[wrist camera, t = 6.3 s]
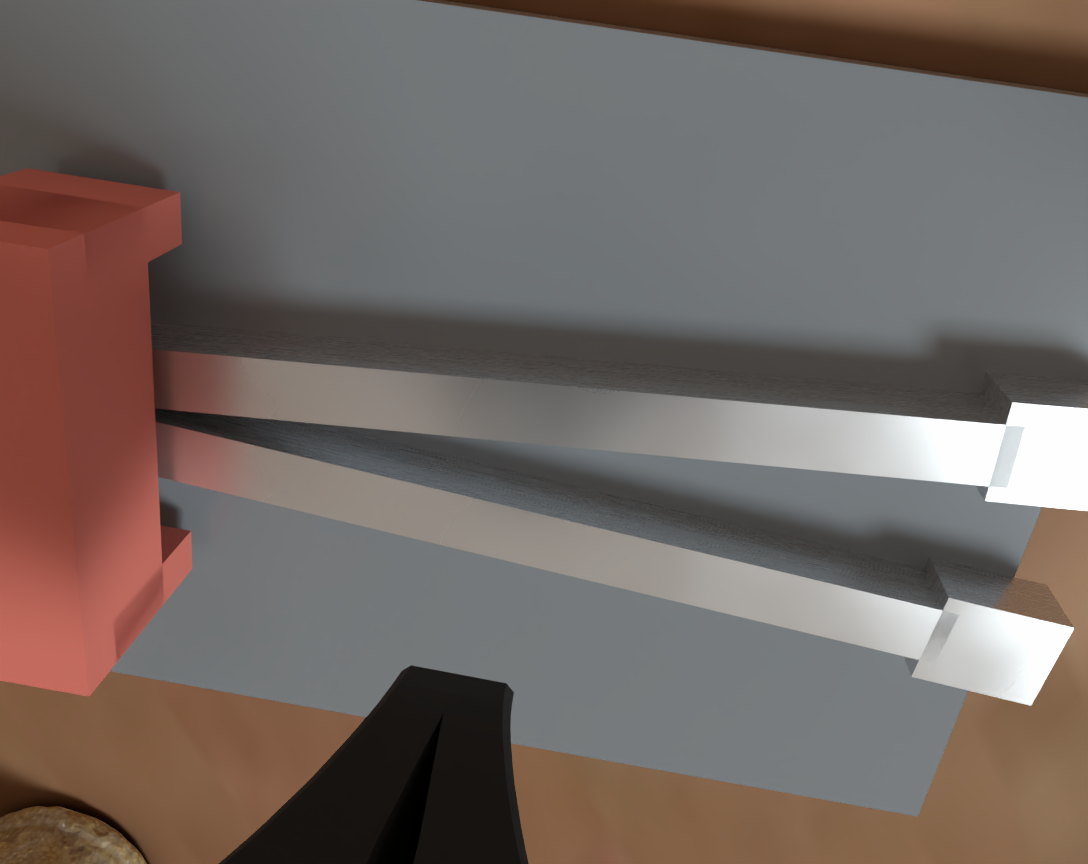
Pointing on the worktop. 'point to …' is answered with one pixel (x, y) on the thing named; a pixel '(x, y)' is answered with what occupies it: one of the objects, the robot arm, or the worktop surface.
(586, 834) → the worktop surface
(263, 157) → the slate board
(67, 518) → the red block
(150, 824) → the worktop surface
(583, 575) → the tongs
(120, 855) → the sprinkles bottle
